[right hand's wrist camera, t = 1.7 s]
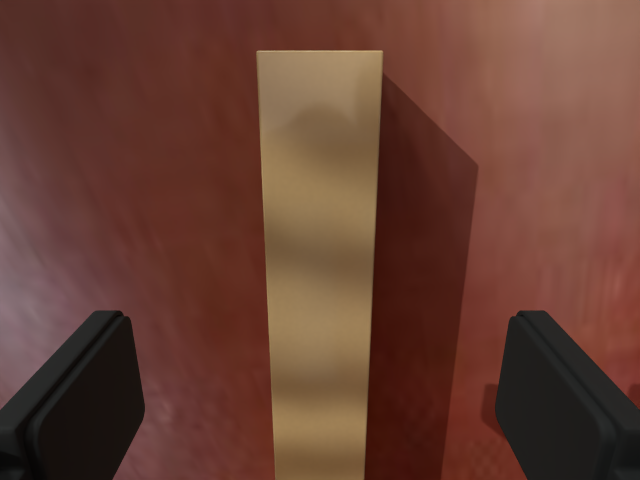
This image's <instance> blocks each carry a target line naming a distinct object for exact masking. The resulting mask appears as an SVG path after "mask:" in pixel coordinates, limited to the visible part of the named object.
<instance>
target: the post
mask: <svg viewBox="0 0 640 480" xmlns="http://www.w3.org/2000/svg"><path fill="white" fill-rule="evenodd" d="M256 56H257V78H258V101H259V123H260V145H261V168H262V190H263V212H264V235H265V257H266V279H267V302H268V324H269V347H270V369H271V391H272V414H273V436H274V458H275V480H364V476H365V454H366V431H367V409H368V387H369V364H370V342H371V320H372V297H373V275H374V252H375V230H376V208H377V185H378V163H379V140H380V118H381V96H382V73H383V51H257V53H256Z"/></svg>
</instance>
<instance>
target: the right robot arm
mask: <svg viewBox="0 0 640 480" xmlns="http://www.w3.org/2000/svg"><path fill="white" fill-rule="evenodd" d="M144 412H145V404H144V398H143V392H142V385H141V379H140V373H139V367H138V361H137V355H136V349H135V343H134V337H133V331H132V324H131V320H130V318H129V317H128V316H124V315H123V313H122V312H121V311H95V312H93V313H92V314H91V315H90V316H89V317H88V318H87V319H86V321H85V322H84V323H83V324H82V325H81V326H80V327H79V328H78V329H77V330H76V331H75V332H74V333H73V334H72V335H71V336H70V337H69V338H68V339H67V340H66V342H65V343H64V344H63V345H62V346H61V347H60V348H59V349H58V350H57V351H56V352H55V353H54V354H53V355H52V356H51V357H50V358H49V359H48V360H47V362H46V363H45V364H44V365H43V366H42V367H41V368H40V369H39V370H38V371H37V372H36V373H35V374H34V375H33V376H32V377H31V378H30V379H29V380H28V381H27V383H26V384H25V385H24V386H23V387H22V388H21V389H20V390H19V391H18V392H17V393H16V394H15V395H14V396H13V397H12V398H11V399H10V400H9V401H8V403H7V404H6V405H5V406H4V407H3V408H2V409H1V410H0V480H112V479H113V477H114V475H115V473H116V472H117V470H118V468H119V466H120V464H121V462H122V460H123V458H124V456H125V454H126V452H127V450H128V448H129V446H130V444H131V442H132V440H133V438H134V436H135V434H136V432H137V430H138V429H139V427H140V425H141V423H142V420H143V417H144ZM495 412H496V417H497V420H498V423H499V425H500V427H501V429H502V430H503V432H504V434H505V436H506V438H507V440H508V442H509V444H510V446H511V448H512V450H513V452H514V454H515V456H516V458H517V460H518V462H519V464H520V466H521V468H522V470H523V472H524V473H525V475H526V477H527V479H528V480H640V410H639V409H638V408H637V407H636V406H635V405H634V404H633V403H632V401H631V400H630V399H629V398H628V397H627V396H626V395H625V394H624V393H623V392H622V391H621V390H620V389H619V388H618V387H617V386H616V385H615V384H614V383H613V381H612V380H611V379H610V378H609V377H608V376H607V375H606V374H605V373H604V372H603V371H602V370H601V369H600V368H599V367H598V366H597V365H596V364H595V363H594V362H593V360H592V359H591V358H590V357H589V356H588V355H587V354H586V353H585V352H584V351H583V350H582V349H581V348H580V347H579V346H578V345H577V344H576V343H575V342H574V340H573V339H572V338H571V337H570V336H569V335H568V334H567V333H566V332H565V331H564V330H563V329H562V328H561V327H560V326H559V325H558V324H557V323H556V322H555V321H554V319H553V318H552V317H551V316H550V315H549V314H548V313H547V312H545V311H519V312H518V313H517V315H516V316H512V317H511V318H510V320H509V324H508V331H507V337H506V343H505V349H504V355H503V361H502V367H501V373H500V379H499V385H498V392H497V398H496V404H495Z"/></svg>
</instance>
